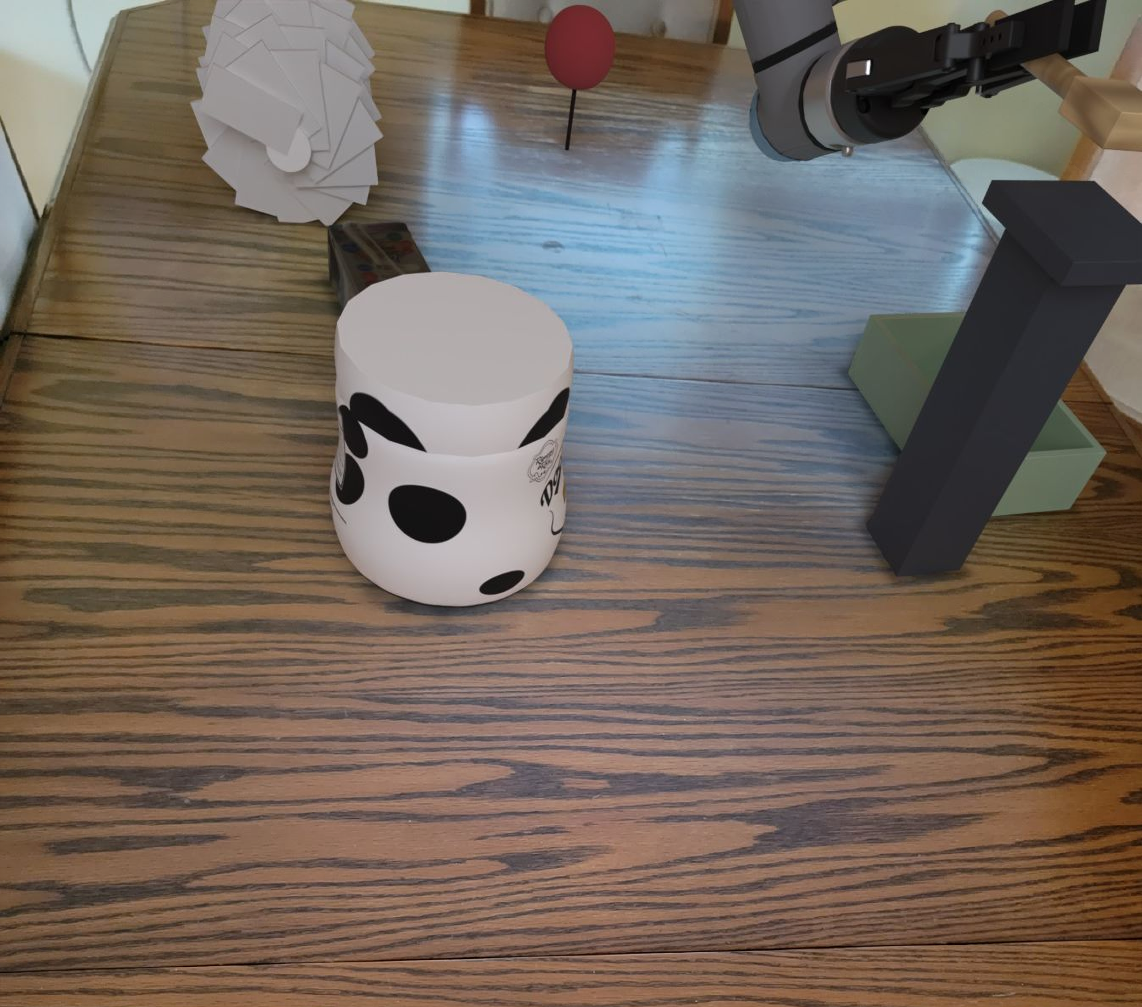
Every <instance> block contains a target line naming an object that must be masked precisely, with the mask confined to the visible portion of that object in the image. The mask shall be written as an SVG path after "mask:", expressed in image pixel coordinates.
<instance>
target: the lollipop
mask: <svg viewBox="0 0 1142 1007" xmlns="http://www.w3.org/2000/svg"><path fill="white" fill-rule="evenodd" d="M543 48H544V58H545V63H546V65H547V68H548V70H549V72H550V74H551V75H552V77H553V78H554V79H555V80H556V81H557V82H558V83H559V84H560V85H562V86H564V87H565V88H568V89H571V95H570V96H571V97H570V104H569V114H568V121H567V129H566V137H565V144H564V150H565V151H569V150H570V144H571V138H572V129H573V122H574V114H575V107H576V99H577V92H578V91H584V90H585V91H587V90H590V89H593V88H595V87H597V86H598V85H600V84H601V83H602V82H603V81H604V80H605V78H606V77H607V76H608V75H609V73H610V71H611V68H612V67H613V64H614V60H615V55H616V37H615V33H614V29H613V27H612V25H611V22H610V21H609V19H608V18H607V17H606V16H605V15H604V13H602V12H601V11H600V10H598V9H597V8H595V7H593V6H590V5H585V4H574V5H569V6H567V7H564V8H563V9H561V10H560V11H559V12H557V13H556V15H555V16H554V17H553V18H552V20H551V22H550V24H549V26H548V28H547V31H546V34H545V38H544V47H543Z"/></svg>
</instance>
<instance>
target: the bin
mask: <svg viewBox="0 0 1142 1007" xmlns="http://www.w3.org/2000/svg"><path fill="white" fill-rule="evenodd" d="M966 312H967V311H950V312H949V311H948V312H947V311H945V312H915V313H914V312H913V313H879V314H877V313H876V314H869V317H868V319H867V322H866V324H865V327H864V330H863V333H862V334H861V338H860V339H859V343H858V346H857V348H856V351H855V352H854V356H853V357H852V361H851V363H850V366H849V369H848V372H847V375H848V376H849V377H850V379H851V380H852V381H853V383H854V384H855V386H856V387H857V389H858V390H859V391H860V394H861V395H862V396H863V397H864V399H865V401H866V402H867V403H868V405H869V406H870V408H871V410H872V411H873V412H874V413H875V415H876V417H877V418H878V419H879V421H880V423H881V424H882V425H883V427H884V428H885V430H886V431H887V432H888V434H889V436H890V437H891V439H892V440H893V441H894V442H895V444H896V446H897V447H898V448H899V450H900V451H901V452H902V450H903V448H904V446H905V443H906V441H907V439H908V437H909V435H910V433H911V430H912V428H913V426H914V424H915V422H916V420H917V418H918V415H919V413H920V411H921V409H922V407H923V405H924V402H925V400H926V398H927V396H928V394H929V392H930V390H931V387H932V385H933V383H934V381H935V379H936V377H937V375H938V372H939V370H940V368H941V366H942V364H943V362H944V359H945V357H946V355H947V353H948V351H949V349H950V347H951V344H952V342H953V340H954V338H955V336H956V334H957V331H958V329H959V327H960V325H961V323H962V321H963V319H964V316H965V314H966ZM1106 455H1107V451H1106V450H1105V449H1104V447H1103V446H1102V445H1101V444H1100V442H1098V440H1097V439H1096V438H1095V437H1094V436H1093V434H1092V433H1091V432H1090V431H1089V430H1088V428H1086V426H1085V425H1084V424H1083V423H1082V421H1080V419H1079V418H1078V417H1077V416H1076V414H1074V413H1073V411H1072V410H1071V409H1070V408H1069V407H1068V405H1067V404H1066V403H1065V402H1064V401H1063V400H1062V399H1061V398H1060V399H1059V401H1058V403H1057V404H1056V406H1055V408H1054V409H1053V411H1052V413H1051V415H1050V416H1049V418H1048V420H1047V421H1046V423H1045V425H1044V427H1043V428H1042V430H1041V432H1040V433H1039V435H1038V437H1037V439H1036V440H1035V442H1034V444H1033V445H1032V447H1031V449H1030V451H1029V452H1028V454H1027V456H1026V457H1025V459H1024V461H1023V463H1022V464H1021V466H1020V468H1019V469H1018V471H1017V473H1016V475H1015V476H1014V478H1013V480H1012V481H1011V483H1010V485H1009V487H1008V488H1007V490H1006V492H1005V493H1004V495H1003V497H1002V499H1001V500H1000V502H999V504H998V505H997V507H996V509H995V510H994V512H993V514H992V516H991V517H997V516H1009V515H1019V514H1020V515H1021V514H1029V513H1030V514H1031V513H1041V512H1052V511H1062V510H1063V511H1065V510H1070V509H1071V508H1072V507H1073V505H1074V503H1075V502H1076V500H1078V497H1079V495H1080V494H1081V493H1082V491H1083V489H1084V488H1085V486H1086V485H1087V484H1088V482H1089V481H1090V479H1091V478H1092V476H1093V474H1094V473H1095V472H1096V470H1097V468H1098V467H1099V465H1100V464H1101V462H1102V461H1103V459H1104V458H1105V457H1106Z"/></svg>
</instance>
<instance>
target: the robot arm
mask: <svg viewBox="0 0 1142 1007" xmlns="http://www.w3.org/2000/svg"><path fill="white" fill-rule="evenodd" d="M846 1H847V0H731V3H732V6H733V9H734V13H735V15H736V19H737V22H738V25H739V28H740V32H741V35H742V38H743V41H744V45H745V48H746V51H747V54H748V57H749V61H750V64H751V68H752V70H753V77H754V81H755V84H756V87H757V88H756V89H755V91H754V94H753V96H752V100H751V101H750V108H749V117H748V118H749V122H748V125H749V126H748V127H749V131H750V135H751V138H752V140H753V142H754V144H755V145H756V147H757V148H758V150H759V151H760V152H761V153H762V154H763V155H764V156H765V157H767V158H769V159H771V160H773V161H776V162H781V163H790V162H797V163H801V162H810V161H812V160H815V159H817V158H821V157H824V156H828V155H832V154H834V153H835V154H836V153H839V152H841V157H843V158H851V157H852V156H853V154H854V148H858V147H859V148H860V147H864V146H868V145H875V144H880V143H884V142H888V141H892V140H896V139H897V140H898V139H901V138H903V137H905V136H907V135H908V134H910V133H912V132H913V131H914V130H915V129H917V127H919V126H920V124H921V123H922V122H923V121H924V120H925V118H926V116H927V115H928V113H929V111H930V110H931V109H935V108H938V107H942V106H944V104H945V103H946V102H948V101H952V100H957V99H961V98H964V97H967V96H968V95H969V93H970V91H971V89H972V88H973V87H975V91H974V94H975V95H978V96H979V97H981V98H984V99H992V97H995V96H997V95H999V93H1000V92H1003V91H1006V90H1008V89H1011V88H1014V87H1017V86H1020V85H1023V84H1027V83H1029V82H1032V81H1035V80H1038V79H1037V78H1036V77H1035V76H1034V75H1032V74H1031V73H1030V72H1029V71H1027V70H1026V69H1025V68H1024V67H1023V66H1021V65H1020V64H1021V63H1025V62H1028V61H1031V60H1035V59H1038V58H1042V57H1045V56H1049V55H1052V54H1056V53H1058V54H1059V55H1061V56H1062V57H1063V58H1065V59H1066V60H1067V61H1069V60H1070V61H1071V60H1073V59H1076V58H1077V59H1078V58H1080V57H1083V56H1087V55H1091V54H1094V53H1099V51H1100V45H1101V39H1102V33H1103V28H1104V27H1103V26H1104V22H1105V14H1106V9H1107V2H1108V0H1085V1H1082V2H1080V3H1077V4H1076V0H1049V1H1046V2H1043V3H1040V4H1038V5H1035V6H1032V7H1029V8H1026V9H1024V10H1020V11H1018V12H1015V13H1012V14H1010V15H1009V14H1008V15H1009V16H1007V17H1004V18H1001V19H998V20H995V23H994V26H993V27H990V24H988V23H985V22H984V21H978V22H976V23H973V24H971V25H969V26H967V27H964V28H962V25H961V24H959V23H956V22H948V23H947V24H944V25H941V26H937V27H934V28H930V29H926V30H924V31H921V32H918V31H917V30H916V29H914V28H912V27H910V26H905V25H890V26H887V27H885V28H882V29H878V30H877V31H874V32H871V33H870V34H867V35H864V36H862V37H857V38H854V39H852V40H849V41H847V42H845V43H842V42H841V38H840V33H839V28H838V25H837V19H836V16H835V13H834V9H833V7H835V6H837V5H838V4H841V3H843V2H846ZM961 28H962V29H961Z"/></svg>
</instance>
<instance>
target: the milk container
mask: <svg viewBox="0 0 1142 1007" xmlns="http://www.w3.org/2000/svg"><path fill="white" fill-rule="evenodd" d="M333 351H334V353H333V354H334V356H333V357H334V366H335V374H336V375H335V376H336V377H335V384H334V385H335V386H334V393H335V405H336V414H337V415H336V416H337V423H338V424H337V425H338V444H337V448H336V452H335V456H334V459H333V463H332V467H331V472H330V477H329V489H328V490H329V491H328V492H329V495H328V496H329V507H330V513H331V517H332V522H333V527H334V530H335V532H336V535H337V538H338V541H339V544H340V547H341V549H342V550H343V552H344V555H345V556H346V557H347V559H348V560H349V561H350V563H351V564H352V565H353V566H354V567H355V569H356V571H357V572H359V573H360V575H362V576H363V577H364V578H365V579H367V580H368V581H369V582H371V583H372V584H374V585H375V586H376V587H378V588H379V589H381V590H383V591H384V592H386V593H387V594H390V595H392V596H394V597H397V598H400V599H402V600H405V601H409V602H412V603H415V604H419V605H423V606H429V607H438V608H451V609H452V608H453V609H455V608H457V609H459V608H460V609H463V608H471V607H472V608H473V607H477V606H483V605H487V604H492V603H496V602H500V601H502V600H504V599H507V598H509V597H510V596H513V595H515V594H517V593H519V592H521V591H522V590H524V589H525V588H527V587H529V585H531V584H532V583H533V582H534V581H535V580H536V579H537V578H538V577H539V576H540V575H541V574H542V573H543V572H544V570H545V569H547V567H548V565H549V564H550V561H551V560H552V558H553V556H554V554H555V552H556V549H557V546H558V544H559V542H560V539H561V537H562V532H563V529H564V525H565V519H566V513H567V490H566V482H565V481H566V480H565V476H564V468H563V463H562V454H563V444H564V441H565V440H564V439H565V434H566V429H567V425H568V419H569V412H570V395H571V390H572V386H573V381H574V369H575V368H574V367H575V364H574V363H575V352H574V344H573V342H572V338H571V336H570V333H569V330H568V327H567V326H566V323H565V322H564V320H562V319H561V317H560V316H559V315H558V314H557V313H556V312H554V310H553V309H551V307H550V306H549V305H547V303H546V302H545V301H542V300H541V299H539V298H537V297H535V296H533V295H532V294H530V293H528V292H526V291H524V290H523V289H521V288H519V287H517V286H515V285H513V284H508V283H505V282H502V281H499V280H495V279H492V278H489V277H485V276H481V275H477V274H467V273H458V272H448V271H431V272H429V273H417V274H405V275H401V276H398V277H394V278H391V279H388V280H385V281H382V282H379V283H375V284H372V285H370V286H369V287H368V288H366V289H365V290H363V291H362V292H360V293H359V294H358V295H356V296H355V297H353V298H352V299H351V300H349V301H348V303H347V304H346V306H345V308H344V310H343V311H342V312H341V314H340V315H339V318H338V320H337V322H336V327H335V333H334V350H333Z"/></svg>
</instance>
